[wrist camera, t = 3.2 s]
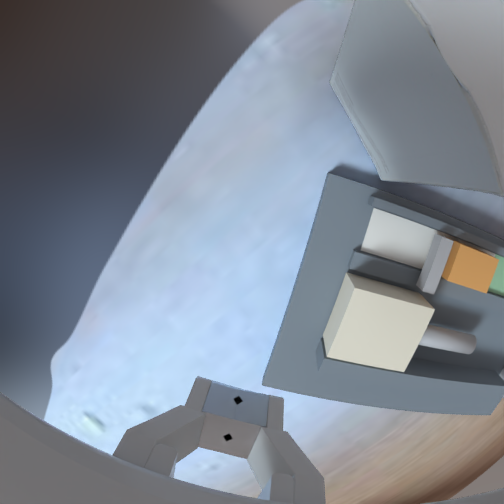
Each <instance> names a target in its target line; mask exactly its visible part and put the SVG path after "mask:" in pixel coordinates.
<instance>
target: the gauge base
mask: <svg viewBox="0 0 504 504" xmlns="http://www.w3.org/2000/svg"><path fill="white" fill-rule="evenodd" d="M435 233H436V234H438V235H441V236H444V237H448V238H451V239H453V240H456V241H458V242H461V243H463V244H466V245H468V246H471V247H473V248H476V249H478V250H481V251H483V252H485V253H487V254H489V255H491V256H493V257H495V258H497V259H499V262H498V265H497V268H496V270H495V273H494V276H493V278H492V281H491V284H490V286H489V289H488V291H487V294H486V293H483V292H480V291H477V290H474V289H471V288H468V287H465V286H462V285H459V284H456V283H452V282H449V281H447V280H446V279H444V278H443V277H442V276H441V278H440V281H439V283H438V286H437V288H436V291H435V293H434V294H430V293H427V292H423V291H422V290H421V289H420V288H419V287H418V286H417V285H416V284H417V281H418V279H419V276H420V274H421V271H422V268H423V266H424V263H425V260H426V257H427V254H428V252H429V249H430V246H431V243H432V240H433V237H434V234H435ZM346 272H347V273H351V274H354V275H358V276H361V277H365V278H369V279H372V280H376V281H379V282H383V283H386V284H390V285H393V286H397V287H401V288H404V289H408V290H411V291H415V292H418V293H420V294H421V295H422V296H423V297H424V298H425V299H426V300H427V301H428V302H429V304H430V305H431V306H432V307H433V308H434V309H435V311H434V313H433V315H432V317H431V320H430V322H429V324H430V325H434V326H438V327H442V328H447V329H451V330H455V331H459V332H464V333H468V334H472V335H475V337H476V340H477V344H476V347H475V350H474V351H473V352H472V353H471V354H464V353H458V352H453V351H448V350H443V349H438V348H433V347H428V346H423V345H418V347H417V349H416V351H415V352H414V354H413V356H412V358H411V360H410V362H409V364H408V366H407V368H406V369H405V371H404V372H401V371H396V370H390V369H384V368H379V367H374V366H368V365H363V364H358V363H353V362H348V361H344V360H339V359H334V358H330V357H327V355H326V349H325V344H324V338H323V333H324V331H325V328H326V326H327V323H328V321H329V318H330V315H331V313H332V310H333V308H334V305H335V302H336V300H337V297H338V294H339V291H340V289H341V286H342V283H343V280H344V277H345V275H346ZM262 385H263V386H267V387H272V388H276V389H280V390H284V391H289V392H293V393H298V394H303V395H308V396H313V397H318V398H323V399H328V400H334V401H340V402H346V403H352V404H358V405H365V406H372V407H379V408H387V409H396V410H405V411H415V412H427V413H441V414H461V415H491V413H492V412H493V411H494V409H495V408H496V406H497V405H498V403H499V402H500V400H501V399H502V397H503V398H504V240H503V239H500V238H498V237H496V236H494V235H492V234H490V233H488V232H485V231H483V230H481V229H479V228H476V227H474V226H472V225H470V224H467V223H465V222H463V221H460V220H458V219H456V218H453V217H451V216H448V215H446V214H444V213H441V212H439V211H436V210H434V209H431V208H429V207H426V206H423V205H421V204H418V203H416V202H413V201H410V200H408V199H405V198H402V197H399V196H397V195H394V194H391V193H388V192H385V191H383V190H380V189H377V188H374V187H371V186H368V185H365V184H362V183H359V182H356V181H353V180H350V179H347V178H343V177H340V176H337V175H334V174H331V173H327V177H326V180H325V184H324V187H323V191H322V195H321V198H320V202H319V205H318V209H317V212H316V216H315V219H314V222H313V226H312V229H311V233H310V236H309V239H308V243H307V246H306V249H305V252H304V256H303V259H302V262H301V265H300V269H299V272H298V275H297V278H296V281H295V284H294V288H293V291H292V294H291V297H290V300H289V303H288V306H287V309H286V312H285V315H284V318H283V321H282V324H281V327H280V330H279V333H278V336H277V339H276V342H275V345H274V347H273V350H272V353H271V356H270V359H269V362H268V365H267V367H266V370H265V373H264V376H263V382H262Z"/></svg>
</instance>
